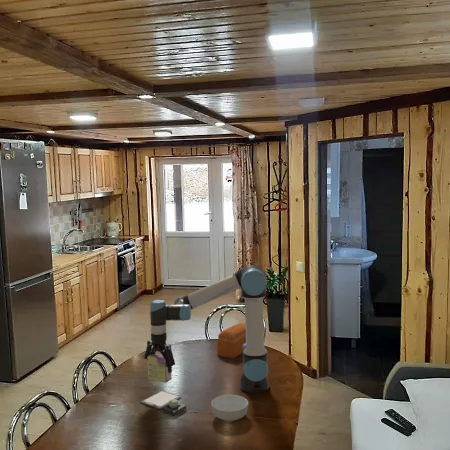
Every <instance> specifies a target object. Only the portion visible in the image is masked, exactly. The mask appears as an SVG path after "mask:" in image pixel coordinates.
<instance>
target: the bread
mask: <svg viewBox="0 0 450 450" xmlns="http://www.w3.org/2000/svg"><path fill="white" fill-rule="evenodd" d="M217 337H218V338H217V342H216V343H217V344H216V348H217V349H216V350H217V355H218V356H220V357H224V358H231V359H234V358H236V357H238V356H241V355H243V350H242V349H243V344H245V343H246V323H243V322H240V323H237V324H234V325H232V326H230V327H228V328H226V329H224V330H222V331H221V332H220V333H218V336H217Z"/></svg>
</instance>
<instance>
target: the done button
mask: <svg viewBox="0 0 450 450" xmlns="http://www.w3.org/2000/svg"><path fill="white" fill-rule="evenodd" d="M178 403H179V399H178V400H176V399H173V400H170V401H169V407H170V408H172V409H176V408H177V407H178Z"/></svg>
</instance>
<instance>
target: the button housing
mask: <svg viewBox="0 0 450 450" xmlns="http://www.w3.org/2000/svg"><path fill="white" fill-rule="evenodd" d="M185 411H187V405H186V404H183V403H180V402H178V407H177V408H170V407H169V404H167V405H165V406H163V407H162V409H161V413H162V414H165V415H168V416H171V417H174V418H176V417H177V416H179V415H181V414H182V413H184V412H185Z"/></svg>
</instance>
